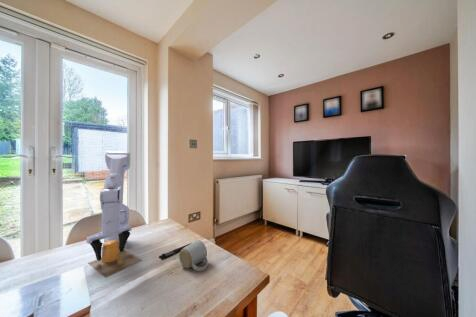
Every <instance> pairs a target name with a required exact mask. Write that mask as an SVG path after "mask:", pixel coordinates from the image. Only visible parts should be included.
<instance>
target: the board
mask: <svg viewBox="0 0 476 317" xmlns="http://www.w3.org/2000/svg"><path fill="white" fill-rule="evenodd" d="M140 262H143V260H142V259H141V258H139V257H137V256H135V255H133V254H131V253H130V252H128V251H126V250H124V251H123V252H121V251H119V254H118V255H117V259H116V260H114V261H111V262H103V261H102V257H101V260H100V261H98V260H97V259H95V260H92V261H89V262H88V263H87V264H88V265H89V266H90V267H92V268H93V269H94V270H96V272H98V273H99V274H100V275H101V276H103V277H104V278H105V279H106V278H108V277H110V276H113V275H114V274H117V273H119V272H121V271H123V270H125V269H128V268H129V267H131V266H134V265H136V264H139V263H140Z"/></svg>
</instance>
